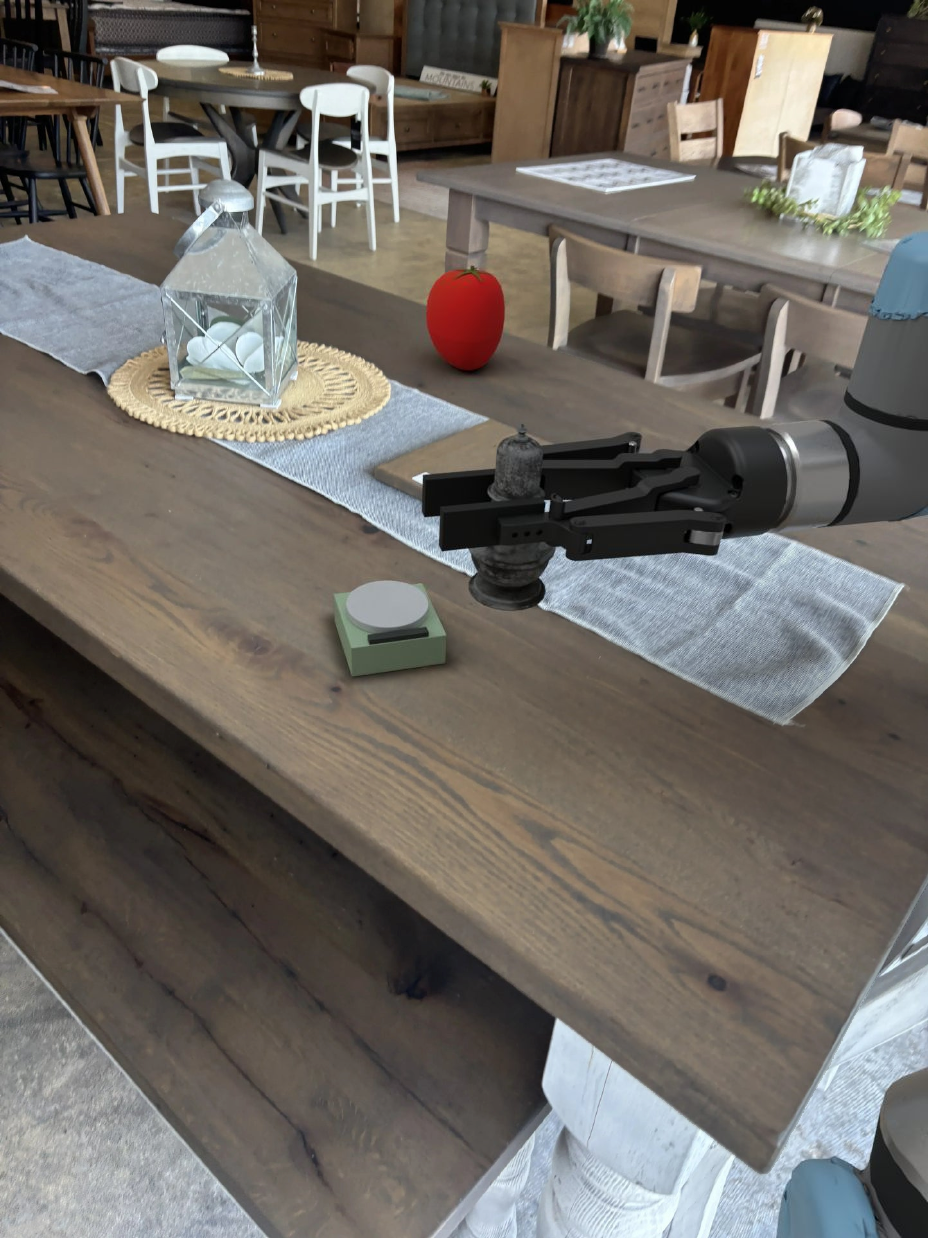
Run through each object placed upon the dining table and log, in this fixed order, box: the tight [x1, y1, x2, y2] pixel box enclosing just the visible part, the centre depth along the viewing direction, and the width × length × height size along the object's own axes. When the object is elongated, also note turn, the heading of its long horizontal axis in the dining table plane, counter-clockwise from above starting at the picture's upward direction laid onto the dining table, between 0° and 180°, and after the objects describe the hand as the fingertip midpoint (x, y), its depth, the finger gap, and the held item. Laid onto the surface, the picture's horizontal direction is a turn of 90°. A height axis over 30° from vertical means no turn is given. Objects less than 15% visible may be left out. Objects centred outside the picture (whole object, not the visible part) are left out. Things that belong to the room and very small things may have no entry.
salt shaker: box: [468, 423, 557, 612], centre depth 58 cm, size 6×6×12 cm
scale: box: [333, 580, 448, 677], centre depth 78 cm, size 8×8×4 cm
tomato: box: [425, 264, 506, 371], centre depth 131 cm, size 13×11×14 cm
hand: (432, 512), depth 57 cm, fingers closed on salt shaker, 4 cm apart
